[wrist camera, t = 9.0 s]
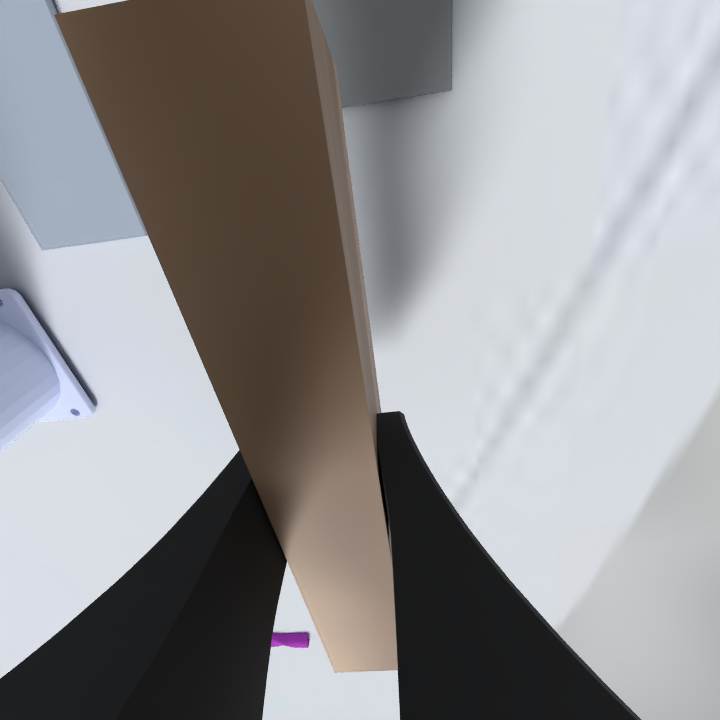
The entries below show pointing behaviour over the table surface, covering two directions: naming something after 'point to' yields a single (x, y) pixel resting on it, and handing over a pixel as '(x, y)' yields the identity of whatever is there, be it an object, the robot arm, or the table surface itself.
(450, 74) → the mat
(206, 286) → the wooden plank
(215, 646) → the robot arm
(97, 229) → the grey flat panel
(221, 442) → the table surface
